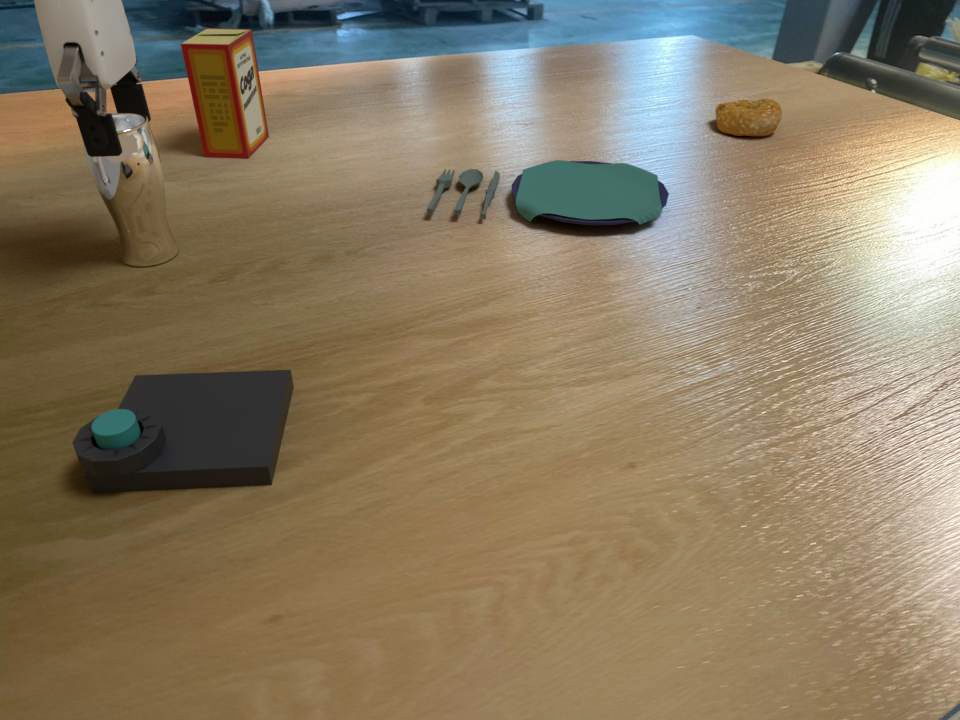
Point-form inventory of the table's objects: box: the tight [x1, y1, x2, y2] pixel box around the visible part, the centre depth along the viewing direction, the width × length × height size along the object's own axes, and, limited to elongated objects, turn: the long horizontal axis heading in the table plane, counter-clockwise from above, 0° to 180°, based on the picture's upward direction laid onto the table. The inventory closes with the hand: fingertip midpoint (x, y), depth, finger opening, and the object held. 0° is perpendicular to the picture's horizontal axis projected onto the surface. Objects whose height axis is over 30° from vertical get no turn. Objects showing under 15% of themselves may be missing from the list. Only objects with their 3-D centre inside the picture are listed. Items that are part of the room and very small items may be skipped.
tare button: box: [91, 408, 141, 450], centre depth 55 cm, size 3×3×2 cm
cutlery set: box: [426, 159, 670, 226], centre depth 98 cm, size 20×30×2 cm, turn 82°
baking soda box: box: [180, 27, 270, 159], centre depth 110 cm, size 10×6×16 cm
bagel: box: [714, 98, 783, 137], centre depth 120 cm, size 10×11×5 cm
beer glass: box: [80, 112, 179, 268], centre depth 82 cm, size 7×7×15 cm
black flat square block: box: [72, 369, 295, 494], centre depth 59 cm, size 14×12×4 cm
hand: (121, 138), depth 79 cm, fingers open, 9 cm apart
